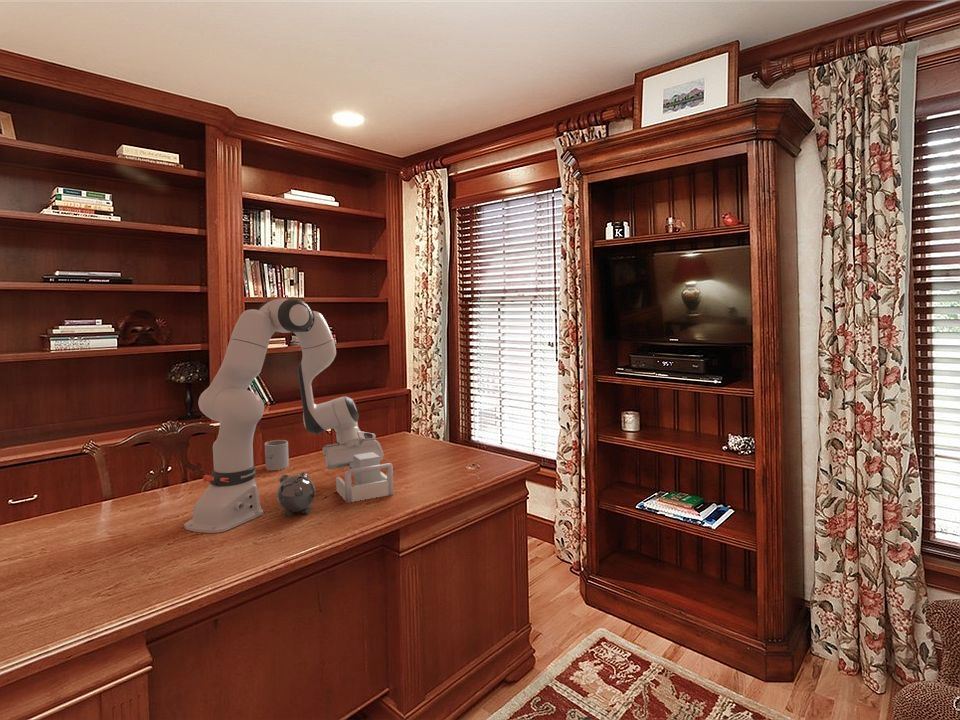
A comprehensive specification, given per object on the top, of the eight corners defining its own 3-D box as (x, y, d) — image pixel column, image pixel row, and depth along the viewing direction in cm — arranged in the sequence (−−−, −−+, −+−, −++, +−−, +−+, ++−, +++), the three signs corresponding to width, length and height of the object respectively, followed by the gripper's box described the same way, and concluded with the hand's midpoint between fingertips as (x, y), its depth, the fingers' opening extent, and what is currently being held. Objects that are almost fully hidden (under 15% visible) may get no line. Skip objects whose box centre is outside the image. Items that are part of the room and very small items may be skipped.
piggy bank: (311, 501, 174) (310, 466, 172) (319, 517, 160) (318, 480, 159) (275, 506, 169) (273, 471, 168) (280, 523, 155) (278, 485, 154)
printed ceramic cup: (291, 468, 209) (290, 443, 208) (268, 472, 205) (267, 446, 204) (283, 460, 219) (282, 437, 218) (261, 464, 215) (260, 440, 214)
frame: (394, 494, 179) (393, 463, 178) (346, 503, 171) (345, 471, 170) (380, 483, 191) (379, 453, 190) (335, 491, 183) (334, 460, 182)
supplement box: (381, 492, 181) (380, 456, 180) (360, 496, 177) (359, 459, 176) (374, 486, 187) (373, 451, 186) (353, 490, 184) (352, 454, 182)
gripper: (322, 440, 185) (331, 475, 177) (379, 433, 195) (389, 466, 188) (320, 450, 189) (328, 484, 182) (375, 442, 199) (385, 474, 192)
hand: (359, 475), depth 185 cm, fingers closed, pressing on supplement box
